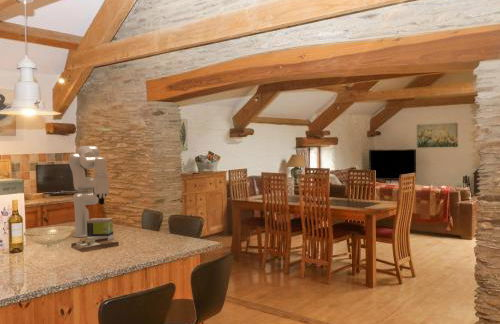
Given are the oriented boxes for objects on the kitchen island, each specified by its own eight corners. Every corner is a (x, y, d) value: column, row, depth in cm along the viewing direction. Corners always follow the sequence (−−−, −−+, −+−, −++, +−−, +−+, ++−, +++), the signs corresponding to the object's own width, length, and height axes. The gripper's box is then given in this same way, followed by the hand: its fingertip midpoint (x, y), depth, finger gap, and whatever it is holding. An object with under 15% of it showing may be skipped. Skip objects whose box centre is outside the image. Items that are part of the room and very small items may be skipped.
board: (71, 247, 295) (71, 239, 295) (106, 241, 311) (106, 234, 311) (82, 252, 282) (82, 243, 282) (118, 245, 298) (118, 237, 298)
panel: (76, 245, 295) (76, 237, 295) (91, 243, 302) (90, 235, 302) (85, 248, 285) (85, 240, 285) (101, 246, 292) (100, 238, 292)
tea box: (113, 238, 322) (113, 217, 321) (108, 241, 312) (107, 220, 311) (92, 238, 323) (92, 217, 322) (86, 241, 313) (86, 220, 312)
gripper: (109, 175, 306) (109, 202, 307) (87, 176, 296) (87, 204, 297) (114, 175, 300) (114, 203, 301) (91, 177, 290) (92, 206, 291)
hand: (101, 204), depth 299 cm, fingers closed
